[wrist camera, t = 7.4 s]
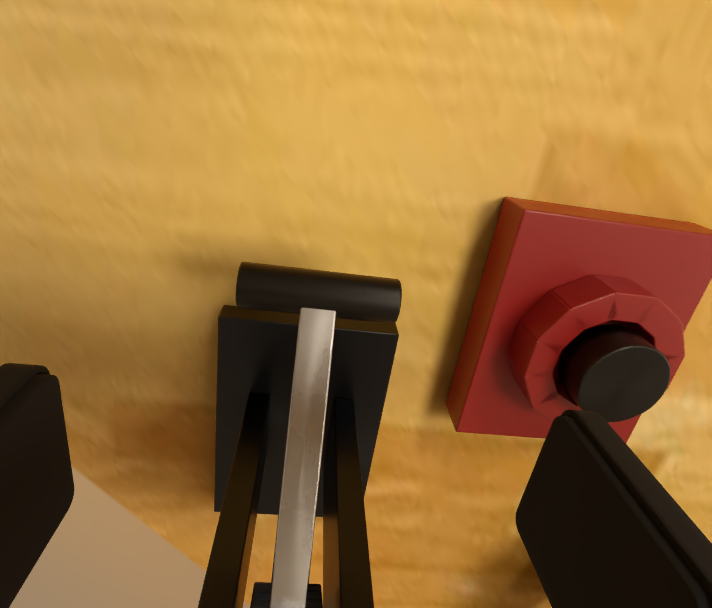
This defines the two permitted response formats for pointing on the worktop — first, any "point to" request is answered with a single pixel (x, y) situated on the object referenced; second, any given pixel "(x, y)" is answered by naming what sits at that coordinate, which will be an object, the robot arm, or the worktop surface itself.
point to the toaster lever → (307, 401)
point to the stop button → (613, 372)
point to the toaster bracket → (268, 443)
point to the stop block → (569, 306)
